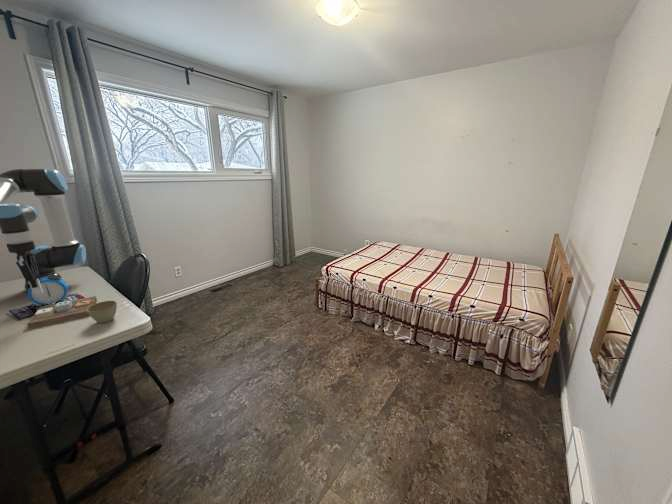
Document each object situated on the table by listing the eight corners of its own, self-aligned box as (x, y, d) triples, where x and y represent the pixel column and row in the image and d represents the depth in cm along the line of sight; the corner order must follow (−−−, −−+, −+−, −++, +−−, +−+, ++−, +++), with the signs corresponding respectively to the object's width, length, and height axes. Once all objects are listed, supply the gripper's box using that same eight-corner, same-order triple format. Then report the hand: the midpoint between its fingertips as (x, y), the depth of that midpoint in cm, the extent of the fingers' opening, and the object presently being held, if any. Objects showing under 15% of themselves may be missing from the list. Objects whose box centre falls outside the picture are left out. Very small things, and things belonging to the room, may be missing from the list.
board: (41, 311, 127) (40, 306, 126) (97, 300, 137) (95, 295, 137) (28, 328, 112) (26, 323, 112) (91, 314, 123) (90, 310, 122)
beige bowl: (96, 317, 121) (91, 303, 119) (123, 312, 125) (119, 298, 123) (86, 328, 112) (82, 313, 110) (116, 323, 116) (112, 308, 114)
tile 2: (79, 307, 129) (77, 301, 128) (92, 305, 131) (90, 299, 130) (77, 311, 125) (75, 305, 124) (90, 308, 128) (88, 302, 127)
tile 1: (40, 315, 122) (38, 309, 121) (54, 312, 124) (52, 306, 123) (37, 320, 118) (34, 313, 117) (51, 316, 121) (49, 310, 120)
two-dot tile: (59, 308, 125) (57, 302, 124) (72, 305, 127) (70, 299, 126) (56, 312, 121) (54, 306, 120) (70, 309, 124) (68, 303, 123)
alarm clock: (33, 309, 128) (22, 280, 124) (34, 304, 133) (24, 276, 128) (70, 300, 137) (61, 273, 132) (71, 296, 141) (62, 270, 137)
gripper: (12, 239, 114) (31, 289, 121) (-1, 246, 104) (20, 301, 111) (37, 237, 118) (54, 286, 125) (27, 243, 108) (46, 296, 115)
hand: (38, 293), depth 118 cm, fingers closed
